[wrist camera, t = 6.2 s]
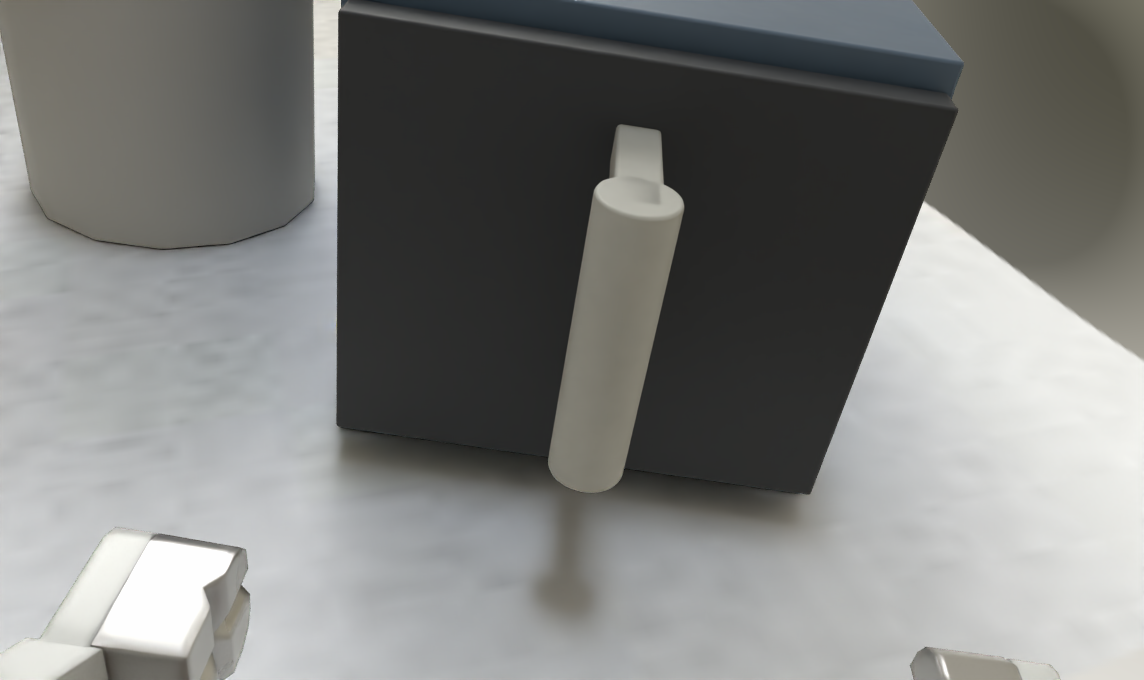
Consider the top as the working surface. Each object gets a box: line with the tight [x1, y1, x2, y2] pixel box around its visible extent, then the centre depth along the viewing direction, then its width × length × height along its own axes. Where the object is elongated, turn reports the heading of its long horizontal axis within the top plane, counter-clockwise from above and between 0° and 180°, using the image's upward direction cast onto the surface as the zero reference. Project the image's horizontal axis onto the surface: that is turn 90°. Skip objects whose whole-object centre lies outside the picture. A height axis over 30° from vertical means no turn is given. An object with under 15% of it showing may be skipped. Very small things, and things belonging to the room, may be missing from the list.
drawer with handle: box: [336, 0, 958, 494], centre depth 23 cm, size 17×11×9 cm, turn 177°
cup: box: [0, 0, 315, 249], centre depth 28 cm, size 8×8×10 cm
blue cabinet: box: [341, 0, 964, 494], centre depth 26 cm, size 14×11×10 cm
